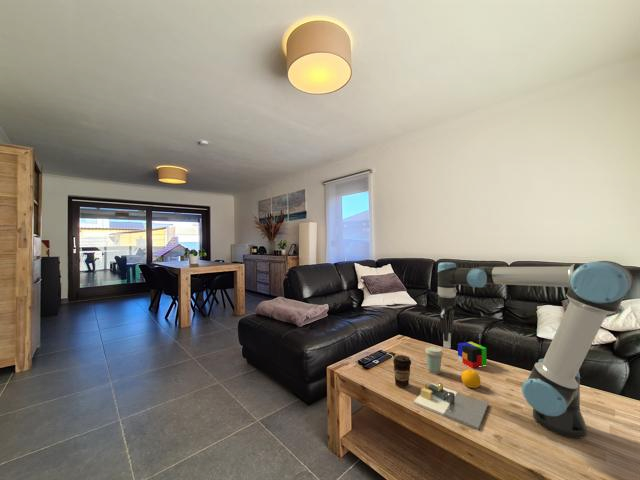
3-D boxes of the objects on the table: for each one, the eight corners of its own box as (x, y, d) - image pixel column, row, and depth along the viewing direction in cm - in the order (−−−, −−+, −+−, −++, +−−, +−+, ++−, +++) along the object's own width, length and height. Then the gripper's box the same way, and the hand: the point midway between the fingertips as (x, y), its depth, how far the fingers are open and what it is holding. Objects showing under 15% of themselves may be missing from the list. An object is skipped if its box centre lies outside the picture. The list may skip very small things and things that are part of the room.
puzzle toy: (457, 360, 153) (457, 343, 153) (471, 358, 156) (471, 341, 156) (472, 368, 144) (472, 350, 144) (486, 366, 147) (486, 348, 147)
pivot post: (455, 404, 112) (455, 393, 112) (453, 407, 110) (453, 396, 110) (448, 401, 114) (448, 391, 114) (446, 404, 112) (446, 393, 112)
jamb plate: (488, 405, 111) (488, 402, 111) (478, 430, 96) (478, 427, 96) (457, 394, 119) (457, 392, 119) (443, 416, 104) (443, 413, 104)
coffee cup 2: (441, 377, 134) (441, 353, 135) (424, 372, 139) (423, 349, 139) (443, 370, 142) (443, 347, 142) (426, 366, 146) (426, 344, 146)
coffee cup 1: (412, 390, 122) (412, 362, 122) (393, 388, 124) (393, 361, 124) (410, 381, 130) (410, 354, 131) (392, 379, 132) (392, 353, 132)
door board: (457, 394, 119) (457, 385, 119) (443, 416, 104) (443, 405, 104) (430, 384, 127) (430, 376, 127) (413, 403, 112) (413, 394, 112)
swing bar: (447, 397, 114) (447, 385, 114) (443, 400, 113) (443, 387, 113) (429, 388, 122) (429, 377, 122) (425, 390, 120) (425, 379, 120)
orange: (484, 390, 122) (484, 374, 122) (467, 390, 122) (467, 374, 122) (474, 381, 130) (474, 366, 130) (458, 381, 130) (458, 366, 130)
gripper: (450, 299, 114) (450, 354, 114) (460, 295, 123) (460, 345, 123) (432, 296, 120) (432, 349, 119) (443, 293, 129) (443, 341, 129)
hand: (447, 347), depth 121 cm, fingers closed
